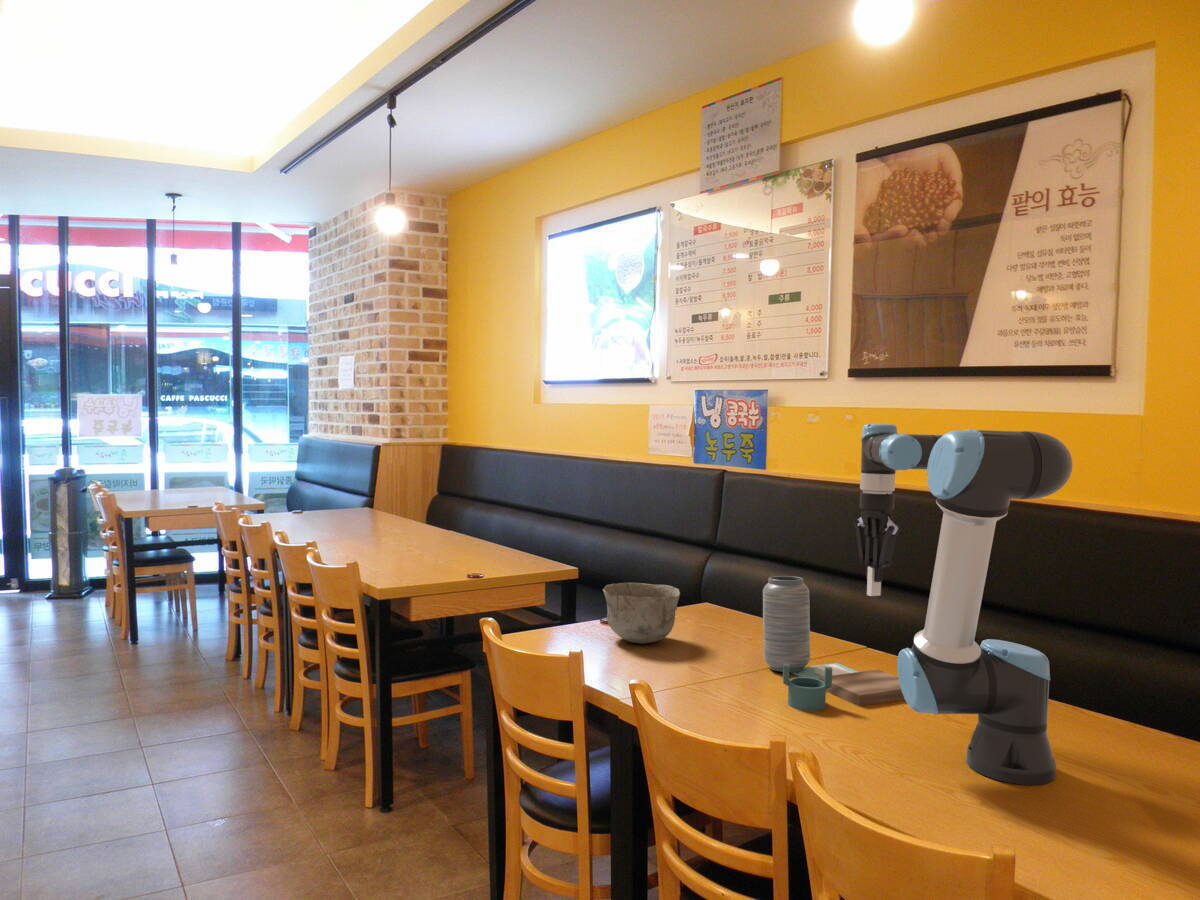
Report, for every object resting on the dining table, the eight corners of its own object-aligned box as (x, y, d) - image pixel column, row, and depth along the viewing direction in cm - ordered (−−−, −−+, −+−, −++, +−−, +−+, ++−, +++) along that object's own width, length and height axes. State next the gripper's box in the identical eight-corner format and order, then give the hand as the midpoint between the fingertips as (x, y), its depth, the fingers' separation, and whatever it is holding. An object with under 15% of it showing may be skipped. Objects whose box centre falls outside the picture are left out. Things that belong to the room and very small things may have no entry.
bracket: (834, 707, 196) (836, 667, 196) (804, 713, 192) (805, 673, 192) (806, 696, 204) (807, 657, 204) (776, 701, 200) (777, 662, 199)
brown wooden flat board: (919, 696, 205) (919, 686, 205) (858, 706, 197) (859, 695, 197) (877, 679, 218) (877, 669, 218) (818, 687, 210) (819, 677, 210)
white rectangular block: (857, 680, 215) (857, 674, 215) (838, 682, 213) (838, 676, 213) (833, 670, 224) (833, 664, 223) (814, 672, 221) (814, 666, 221)
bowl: (607, 629, 261) (608, 579, 261) (680, 633, 258) (681, 583, 258) (596, 649, 240) (597, 595, 239) (676, 654, 237) (678, 599, 236)
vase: (794, 661, 232) (793, 574, 232) (819, 671, 221) (818, 579, 221) (755, 665, 228) (754, 576, 228) (778, 675, 217) (777, 582, 217)
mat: (874, 679, 217) (874, 678, 217) (822, 687, 211) (822, 685, 211) (836, 664, 230) (837, 663, 230) (786, 670, 223) (786, 669, 223)
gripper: (911, 494, 195) (907, 599, 196) (870, 489, 207) (866, 588, 208) (884, 495, 192) (881, 602, 193) (844, 489, 203) (841, 590, 205)
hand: (873, 595), depth 200 cm, fingers closed
